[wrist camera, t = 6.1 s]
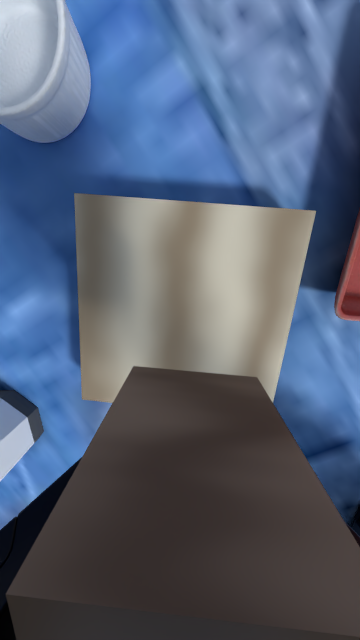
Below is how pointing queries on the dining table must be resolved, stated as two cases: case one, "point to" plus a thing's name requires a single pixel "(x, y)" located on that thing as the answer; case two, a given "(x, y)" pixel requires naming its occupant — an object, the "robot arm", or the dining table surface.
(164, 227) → the birch base
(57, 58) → the ramekin
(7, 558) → the robot arm
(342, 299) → the plant saucer
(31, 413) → the wine bottle
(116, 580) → the walnut block
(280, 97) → the dining table surface
